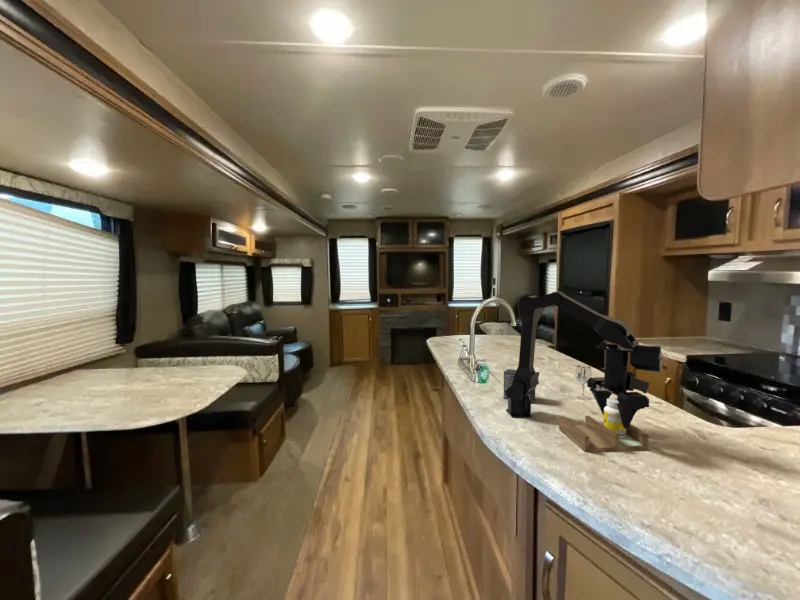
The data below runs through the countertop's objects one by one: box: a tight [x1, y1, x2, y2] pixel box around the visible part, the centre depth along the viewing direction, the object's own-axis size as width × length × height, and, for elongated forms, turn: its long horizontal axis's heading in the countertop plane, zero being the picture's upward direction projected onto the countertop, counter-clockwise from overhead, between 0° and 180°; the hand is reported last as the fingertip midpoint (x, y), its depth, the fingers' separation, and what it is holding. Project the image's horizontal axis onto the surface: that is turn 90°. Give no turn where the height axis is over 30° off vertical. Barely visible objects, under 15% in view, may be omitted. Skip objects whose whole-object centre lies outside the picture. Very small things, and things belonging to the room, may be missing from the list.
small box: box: [502, 368, 536, 404], centre depth 135 cm, size 11×6×10 cm, turn 57°
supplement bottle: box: [603, 397, 626, 438], centre depth 101 cm, size 5×5×10 cm
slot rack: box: [558, 415, 650, 453], centre depth 101 cm, size 17×14×4 cm
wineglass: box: [574, 364, 593, 401], centre depth 135 cm, size 6×6×12 cm
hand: (614, 421), depth 101 cm, fingers open, 9 cm apart
